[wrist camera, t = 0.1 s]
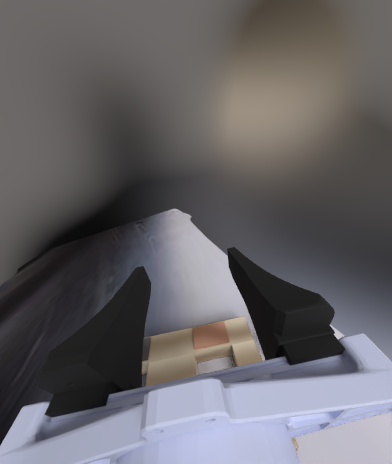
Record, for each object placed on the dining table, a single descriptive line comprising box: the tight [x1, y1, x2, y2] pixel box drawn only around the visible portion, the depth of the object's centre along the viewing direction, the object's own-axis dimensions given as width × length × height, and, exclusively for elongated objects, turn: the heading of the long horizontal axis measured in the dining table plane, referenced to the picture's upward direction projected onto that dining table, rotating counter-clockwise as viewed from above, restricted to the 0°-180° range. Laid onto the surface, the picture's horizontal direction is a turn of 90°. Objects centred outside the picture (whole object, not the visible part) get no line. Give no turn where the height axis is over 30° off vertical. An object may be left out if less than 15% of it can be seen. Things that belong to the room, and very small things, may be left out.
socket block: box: [142, 316, 298, 452], centre depth 22 cm, size 14×26×3 cm, turn 96°
